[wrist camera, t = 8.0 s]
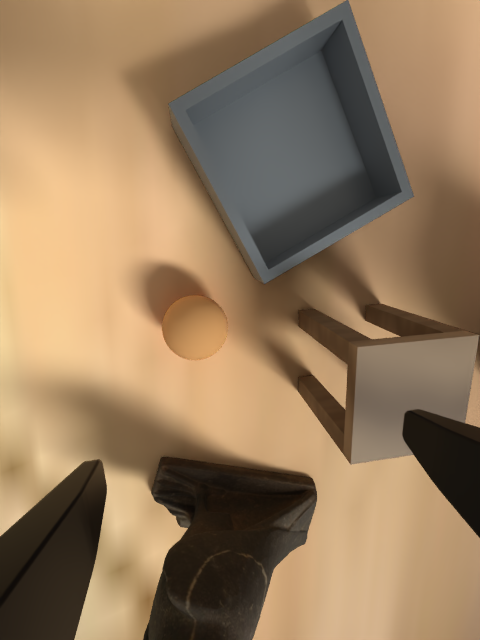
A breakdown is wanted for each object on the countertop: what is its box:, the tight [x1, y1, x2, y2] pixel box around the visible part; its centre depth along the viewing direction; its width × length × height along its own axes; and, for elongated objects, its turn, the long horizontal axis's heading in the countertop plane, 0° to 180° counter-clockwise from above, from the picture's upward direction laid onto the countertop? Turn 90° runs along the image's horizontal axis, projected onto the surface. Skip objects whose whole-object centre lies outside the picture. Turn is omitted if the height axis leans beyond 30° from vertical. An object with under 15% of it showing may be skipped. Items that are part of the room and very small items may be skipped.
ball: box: [162, 295, 228, 360], centre depth 19 cm, size 4×4×4 cm
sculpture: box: [143, 457, 317, 640], centre depth 18 cm, size 6×13×13 cm, turn 72°
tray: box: [168, 0, 414, 284], centre depth 18 cm, size 10×10×3 cm
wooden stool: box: [298, 304, 479, 464], centre depth 19 cm, size 6×6×8 cm
